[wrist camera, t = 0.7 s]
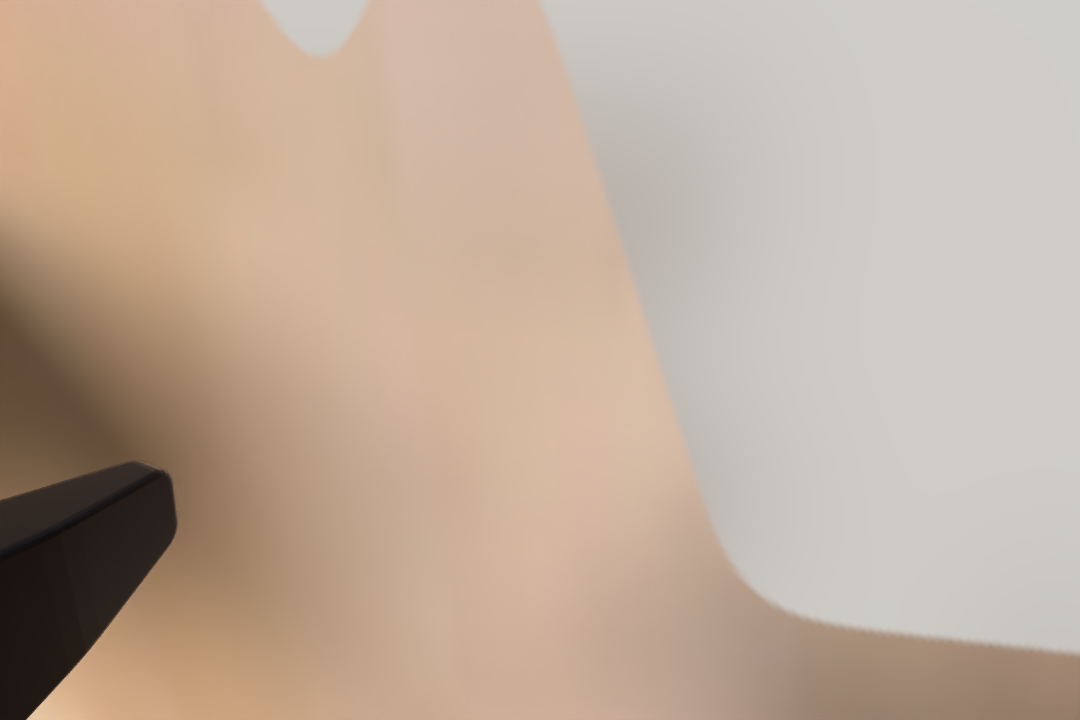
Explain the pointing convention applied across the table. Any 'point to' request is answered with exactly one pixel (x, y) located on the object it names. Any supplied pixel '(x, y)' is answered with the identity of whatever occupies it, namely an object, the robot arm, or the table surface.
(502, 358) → the table surface
